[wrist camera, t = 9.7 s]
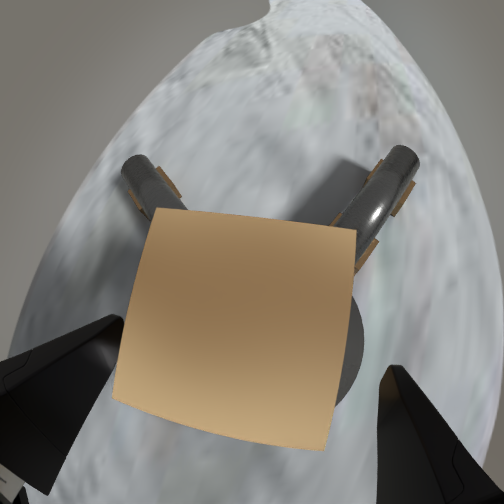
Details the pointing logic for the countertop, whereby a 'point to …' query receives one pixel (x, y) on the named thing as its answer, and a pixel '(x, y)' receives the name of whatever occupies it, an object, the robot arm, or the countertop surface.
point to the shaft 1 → (150, 186)
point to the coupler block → (239, 326)
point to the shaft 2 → (379, 200)
